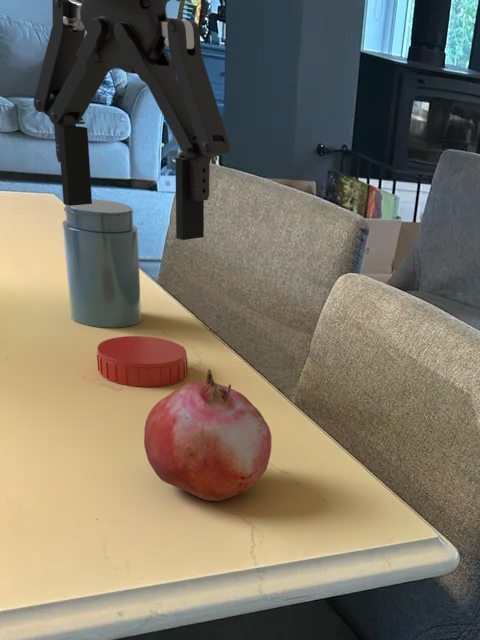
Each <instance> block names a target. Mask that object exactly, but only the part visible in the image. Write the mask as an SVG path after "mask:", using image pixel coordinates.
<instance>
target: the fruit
mask: <svg viewBox="0 0 480 640" xmlns="http://www.w3.org/2000/svg"><path fill="white" fill-rule="evenodd" d="M143 445H144V450H145V454H146V458H147V460H148V461H147V462H148V463H149V465H150V467H151V469H152V470H153V471H154V473H155V475H156V476H157V477H158V478H159V479H160V480H161V481H162V482H163V483H166V484H168V485H171V486H173V487H176V488H178V489H181V490H183V491H184V492H187V493H189V494H191V495H193V496H195V497H198V498H199V499H200V500H203V501H210V502H215V501H216V502H217V501H224V500H227V499H229V498H232V497H235V496H237V495H241V494H243V493H245V492H246V491H248V490H250V489H251V488H252V487H253V486H255V485H256V483H257V482H258V481H259V480H260V479H261V477H262V476H263V475H264V474H265V473H266V472H267V469H268V465H269V463H270V458H271V453H272V433H271V429H270V427H269V425H268V423H267V421H266V420H265V417H264V416H263V415H262V413H261V411H260V410H259V409H258V408H257V407H256V406H255V405H254V404H253V403H252V402H251V401H250V400H249V399H248V397H246V396H245V395H244V394H243V393H241V392H239V391H237V390H235V389H233V388H232V384H228V386H226V385H223V384H220V383H217V382H215V380H214V377H213V372H212V370H211V369H210V368H208V369H207V374H206V379H205V381H188V382H186V383H184V384H183V385H181V386H180V387H179V388H178V389H175V390H174V391H173V392H171V393H170V394H168V395H166V396H165V397H163V398H162V399H160V400H159V401H158V402H157V403H156V404H155V405H154V406H153V407H152V408H151V410H150V411H149V413H148V415H147V417H146V419H145V425H144V435H143Z"/></svg>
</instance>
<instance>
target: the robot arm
mask: <svg viewBox="0 0 480 640" xmlns="http://www.w3.org/2000/svg"><path fill="white" fill-rule="evenodd" d="M170 1H171V0H52V26H51V29H50V34H49V38H48V41H47V46H46V49H45V54H44V57H43V62H42V65H41V69H40V73H39V77H38V82H37V85H36V89H35V93H34V97H33V107H34V109H35V111H36V112H38V113H43V114H44V115H46V116H47V117H48V118H49V120H50V123H51V124H53V129H54V131H53V132H54V142H55V155H56V158H57V163H60V173H61V174H60V175H61V176H60V177H61V190H62V201H63V205H64V206H65V205H69V206H73V205H85V204H92V199H93V196H92V195H93V194H92V183H91V182H92V180H91V163H90V146H89V131H88V130H89V129H88V127H86V126H81V125H85V124H86V121H84V119H83V116H84V115H85V113H86V112H87V109H88V108H89V107H90V105H91V103H92V101H93V99H94V97H95V96H96V94H97V93H98V91H99V89H100V88H101V85H102V84H103V82H104V80H105V79H106V77H107V75H108V74H109V72H111V71H112V70H121V71H122V72H125V73H128V74H132V75H133V74H135V75H137V77H138V78H139V80H140V81H142V82H143V83H145V84H146V85H147V87H148V90H149V91H150V93H151V95H152V97H153V99H154V101H155V103H156V104H157V106H158V108H159V111H160V112H161V114H162V116H163V118H164V120H165V121H166V124H167V125H168V128H169V129H170V132H171V133H172V135H173V137H174V139H175V141H176V143H177V144H178V147H179V148H180V150H181V153H180V154H178V155H177V157H175V158H174V161H175V163H174V165H175V167H174V168H175V169H174V170H175V173H174V174H175V232H176V233H175V236H176V237H175V238H176V239H177V240H180V241H187V240H195V239H201V238H204V237H205V235H204V234H205V231H204V229H205V228H204V227H205V215H204V213H205V204H204V203H205V201H208V200H209V196H210V165H211V164H210V163H211V161H212V159H213V158H216V157H220V156H228V155H229V154H230V152H231V144H230V141H229V138H228V135H227V132H226V128H225V125H224V122H223V119H222V116H221V112H220V109H219V106H218V103H217V100H216V96H215V93H214V89H213V87H212V84H211V80H210V77H209V74H208V71H207V68H206V64H205V61H204V58H203V55H202V43H201V30H200V25H199V24H198V23H197V22H196V21H193V20H186V19H179V18H173V17H172V18H168V14H167V4H168V2H170ZM166 47H168V50H169V53H168V52H167V51H168V50H167V49H166ZM79 125H80V126H79Z"/></svg>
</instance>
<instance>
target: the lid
mask: <svg viewBox="0 0 480 640" xmlns="http://www.w3.org/2000/svg"><path fill="white" fill-rule="evenodd" d="M96 349H97V354H96V359H97V371H98V372H99V374H100V375H101V376H102V377H103V378H104V379H106V380H108V381H111V382H113V383H117V384H120V385H125V386H131V387H141V388H142V387H145V388H155V387H164V386H170V385H174V384H177V383H180V382H182V381H183V380H185V379H186V377H187V375H188V374H189V372H188V354H187V349H186V348H185V347H184V346H183V345H181V344H180V343H178V342H175V341H173V340H168V339H165V338H161V337H155V336H145V335H143V336H142V335H128V336H127V335H126V336H118V337H111V338H108V339H105V340H103V341H101V342H100V343H99V344H98V345H97V348H96Z"/></svg>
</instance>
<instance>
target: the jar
mask: <svg viewBox="0 0 480 640" xmlns="http://www.w3.org/2000/svg"><path fill="white" fill-rule="evenodd" d="M63 211H64V212H65V220H63V221H62V231H63V232H62V234H63V244H64V255H65V265H66V266H65V267H66V278H67V279H66V280H67V289H68V301H69V311H70V318H71V319H72V320H73V321H75V322H76V323H79V324H82V325H85V326H90V327H97V328H106V329H107V328H109V329H111V328H112V329H113V328H114V329H115V328H127V327H132V326H135V325H138V324H139V323H140V322H141V321H142V301H141V300H142V299H141V280H140V279H141V278H140V263H139V262H140V259H139V238H138V228H137V226H135V224H134V210H133V208H132V207H131V206H130V205H128V204H125V203H122V202H117V201H113V200H105V199H96V198H92V204H85V205H73V206H69V205H65V204H64V207H63Z"/></svg>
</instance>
